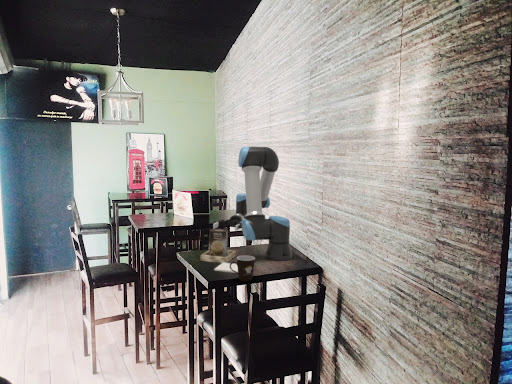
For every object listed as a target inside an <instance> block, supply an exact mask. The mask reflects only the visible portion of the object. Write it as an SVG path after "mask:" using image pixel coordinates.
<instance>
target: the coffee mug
mask: <svg viewBox="0 0 512 384" xmlns="http://www.w3.org/2000/svg"><path fill="white" fill-rule="evenodd" d="M255 262H256V257H255V256H252V255H238V256H237V257H236V261H232V262H229V263H230V269H231V270H232V268H231V264H237V266H238V272H236V271H234V270H232V271H234V272H235V274H237V275H238V276H237V277H238V280H239V281H242V282H250V281H252V280H253V275H254V268H255Z"/></svg>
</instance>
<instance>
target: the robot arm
mask: <svg viewBox="0 0 512 384" xmlns="http://www.w3.org/2000/svg"><path fill="white" fill-rule="evenodd" d="M278 156H279V155H278V154H277V153H276V151H275V150H274V149H272V148H270V147H268V146H250V145H249V146H242V147H241V148H240V150H239V153H238V161H237V162H238V163H237V165H238V167H239V168H241V171H242V172H243V173H244V185H245V193H237V194H236V199H235V213H234V214H233V215H231V216H230V218H229V219H225V218H223V219H220V220H219V219H218V220H214V221H213V225H212V227H213V228H212V229H217V228H218V227H219V226H220V227H221V226H227V227H228V226H230V227H231V228H234V229H235V231H238V230H240V229H241V231H242V235H243V237H244V239H245V240H247V241H263V240H264V241H265V240H267V241H268V245H267V247H266V250H265V253H264V255H265V256H264V257H265V258H266V259H267V260H271V261H278V262H280V261H289V260H291V259H292V257H293V253H292V250H291V246H290V230H291V229H290V228H291V226H290V225H291V222H290V220H289V218H287V217H285V216H284V217H283V216H278V215H270V216H269V217H268V218H266V214H264V213H263V209H268V208H269V207H270V205H271V199H270V197H269V195H270V192H271V187H272V184H273V180H274V177H275V173H276V172H277V171H278V169H279V166H280V161H279V157H278ZM261 171H262V172H261ZM260 172H261V176H260Z"/></svg>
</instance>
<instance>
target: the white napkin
mask: <svg viewBox="0 0 512 384" xmlns="http://www.w3.org/2000/svg"><path fill="white" fill-rule="evenodd" d="M230 263H231V262H228V263H219V265H218V266H216V267H215V268H214V269H213V271H215V272H223V273H233V274H234V273H235V272H234V271H236V272H238V266H237V264H236V263H233V264H231V268H232V270H234V271H232V270H231V269H230ZM235 274H236V273H235Z"/></svg>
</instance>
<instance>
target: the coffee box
mask: <svg viewBox="0 0 512 384" xmlns="http://www.w3.org/2000/svg"><path fill="white" fill-rule="evenodd" d="M209 233H210V234H209V250H210V256H218V257H226V256H227V250H228V233H229V230H228V229H225V228H223V229H222V228H215V229H213V228H212V229H210V231H209Z"/></svg>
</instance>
